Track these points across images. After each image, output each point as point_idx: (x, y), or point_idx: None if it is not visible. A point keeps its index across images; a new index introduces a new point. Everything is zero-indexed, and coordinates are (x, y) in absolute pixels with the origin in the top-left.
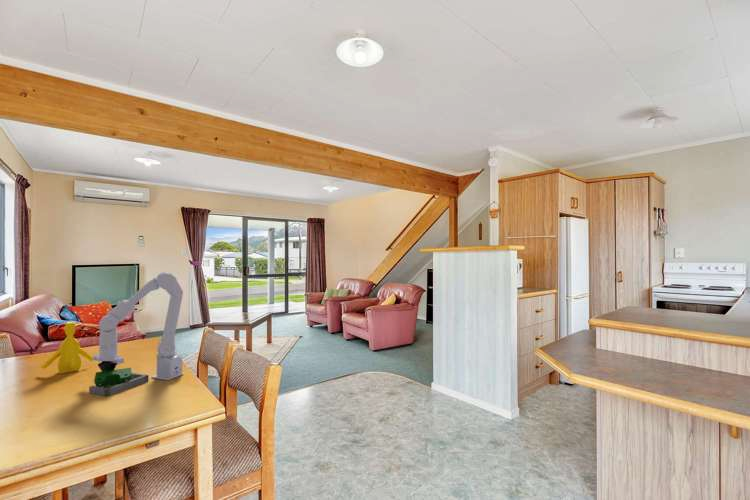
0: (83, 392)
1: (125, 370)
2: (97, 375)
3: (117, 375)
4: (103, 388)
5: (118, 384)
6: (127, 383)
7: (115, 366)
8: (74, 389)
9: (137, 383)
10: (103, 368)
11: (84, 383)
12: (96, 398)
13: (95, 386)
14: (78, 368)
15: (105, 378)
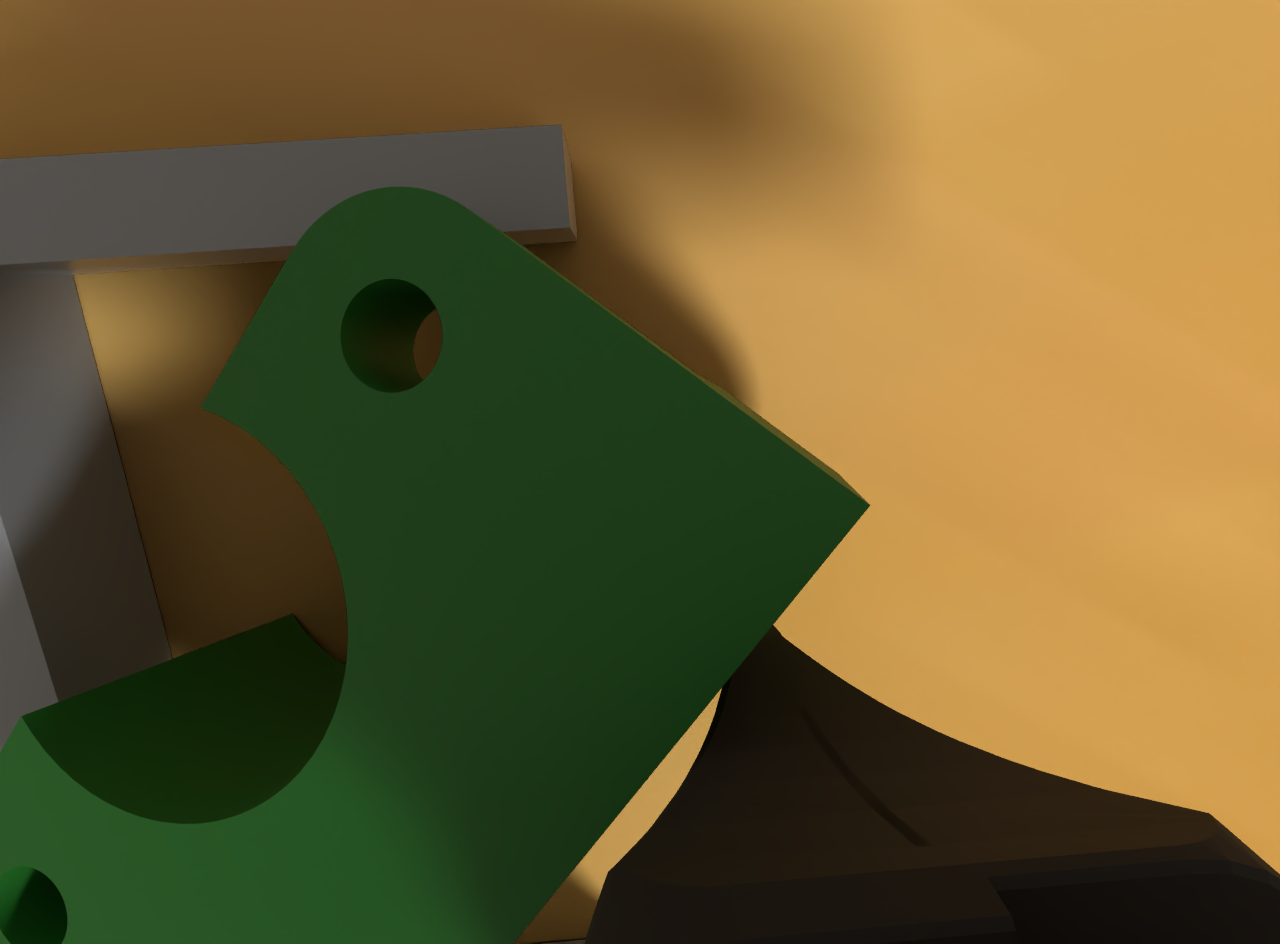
0: (762, 147)
1: None
2: (625, 419)
3: (261, 794)
4: (9, 209)
5: (11, 565)
6: (5, 721)
7: None
8: (1145, 173)
9: None
10: (783, 794)
11: (1275, 473)
12: (69, 40)
13: None
14: None
15: (330, 495)
